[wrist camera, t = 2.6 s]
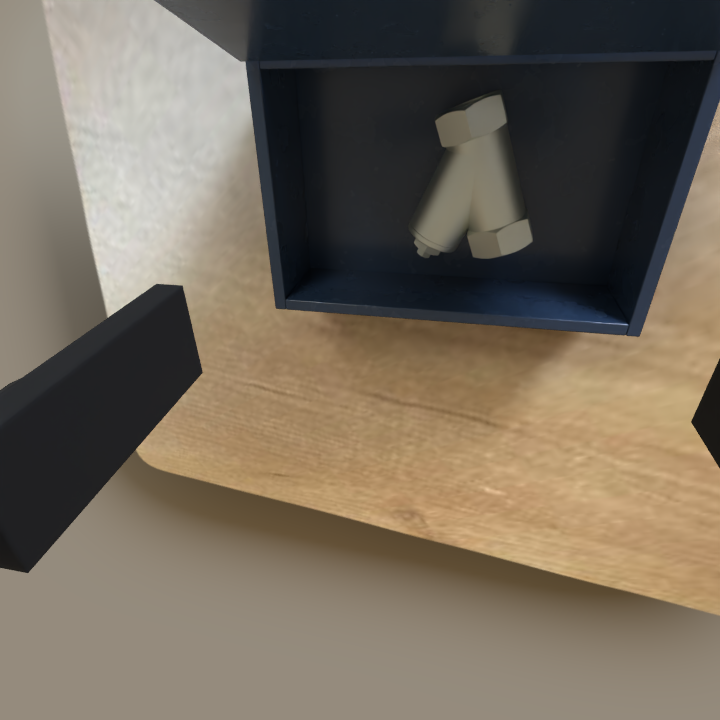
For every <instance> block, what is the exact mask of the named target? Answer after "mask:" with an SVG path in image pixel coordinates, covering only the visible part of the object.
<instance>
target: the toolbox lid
mask: <svg viewBox="0 0 720 720" xmlns="http://www.w3.org/2000/svg"><path fill="white" fill-rule="evenodd" d="M155 1H156V2H158V3H159V4H160V5H162V6H163V7H165V8H166V9H167V10H169V11H170V12H172V13H173V14H174V15H176V16H177V17H179V18H180V19H181V20H183V21H184V22H186V23H187V24H188V25H190V26H191V27H193V28H194V29H195V30H197V31H198V32H200V33H201V34H203V35H204V36H205V37H207V38H208V39H210V40H211V41H212V42H214V43H215V44H217V45H218V46H219V47H221V48H222V49H224V50H225V51H226V52H228V53H229V54H231V55H232V56H233V57H235V58H236V59H238V60H239V61H284V60H328V59H371V58H415V57H459V56H502V55H546V54H590V53H634V52H677V51H720V0H155Z"/></svg>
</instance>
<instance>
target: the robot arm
mask: <svg viewBox="0 0 720 720" xmlns="http://www.w3.org/2000/svg"><path fill="white" fill-rule="evenodd" d="M202 373H203V372H202V368H201V363H200V359H199V355H198V350H197V346H196V342H195V337H194V333H193V329H192V324H191V320H190V316H189V311H188V307H187V303H186V298H185V294H184V290H183V286H179V285H164V284H156V285H154V286H153V287H151V288H150V289H149V290H147V291H146V292H144V293H143V294H141V295H140V296H139V297H137V298H136V299H134V300H133V301H131V302H130V303H129V304H127V305H126V306H124V307H123V308H121V309H120V310H119V311H117V312H116V313H114V314H113V315H111V316H110V317H109V318H107V319H106V320H104V321H103V322H101V323H100V324H99V325H97V326H96V327H94V328H93V329H91V330H90V331H88V332H87V333H86V334H84V335H83V336H82V337H80V338H79V339H77V340H76V341H74V342H73V343H71V344H70V345H68V346H67V347H66V348H64V349H63V350H62V351H60V352H58V353H57V354H56V355H54V356H53V357H51V358H50V359H48V360H47V361H46V362H44V363H43V364H41V365H40V366H38V367H37V368H36V369H34V370H33V371H31V372H30V373H28V374H27V375H26V376H24V377H23V378H21V379H19V380H17V381H14V382H12V383H10V384H8V385H7V386H5V387H4V388H3V389H1V390H0V568H5V569H10V570H15V571H20V572H25V573H29V571H30V570H31V569H32V568H33V567H34V566H35V565H36V563H37V562H38V561H39V560H40V559H41V558H42V556H43V555H44V554H45V553H46V552H47V551H48V550H49V548H50V547H51V546H52V545H53V544H54V543H55V541H56V540H57V539H58V538H59V537H60V536H61V535H62V533H63V532H64V531H65V530H66V529H67V528H68V527H69V525H70V524H71V523H72V522H73V521H74V520H75V519H76V517H77V516H78V515H79V514H80V513H81V512H82V510H83V509H84V508H85V507H86V506H87V505H88V504H89V502H90V501H91V500H92V499H93V498H94V497H95V495H96V494H97V493H98V492H99V491H100V490H101V489H102V487H103V486H104V485H105V484H106V483H107V482H108V481H109V479H110V478H111V477H112V476H113V475H114V474H115V473H116V471H117V470H118V469H119V468H120V467H121V466H122V465H123V463H124V462H125V461H126V460H127V459H128V458H129V457H130V455H131V454H132V453H133V452H134V451H135V450H136V448H137V447H138V446H139V445H140V444H141V443H142V442H143V440H144V439H145V438H146V437H147V436H148V435H149V434H150V432H151V431H152V430H153V429H154V428H155V427H156V425H157V424H158V423H159V422H160V421H161V420H162V419H163V417H164V416H165V415H166V414H167V413H168V412H169V411H170V409H171V408H172V407H173V406H174V405H175V404H176V403H177V401H178V400H179V399H180V398H181V397H182V396H183V394H184V393H185V392H186V391H187V390H188V389H189V388H190V386H191V385H192V384H193V383H194V382H195V381H196V380H197V378H198V377H199V376H200V375H201V374H202ZM691 422H692V424H693V426H694V427H695V429H696V430H697V432H698V434H699V435H700V437H701V439H702V440H703V442H704V443H705V445H706V447H707V448H708V450H709V452H710V453H711V455H712V456H713V458H714V460H715V461H716V463H717V465H718V466H719V468H720V359H719V361H718V364H717V366H716V368H715V370H714V373H713V375H712V377H711V379H710V381H709V384H708V386H707V388H706V390H705V392H704V395H703V397H702V399H701V401H700V403H699V406H698V408H697V410H696V412H695V415H694V417H693V419H692V421H691Z"/></svg>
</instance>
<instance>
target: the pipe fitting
mask: <svg viewBox="0 0 720 720" xmlns="http://www.w3.org/2000/svg"><path fill="white" fill-rule="evenodd" d="M435 123H436V127H437V131H438V134H439V138H440V141H441V145H442V147H446V150H445V152H444V154H443V156H442V158H441V160H440V162H439V164H438V166H437V168H436V170H435V172H434V174H433V176H432V178H431V180H430V182H429V184H428V186H427V188H426V190H425V192H424V194H423V196H422V198H421V200H420V202H419V204H418V206H417V208H416V210H415V212H414V214H413V216H412V219H411V221H410V223H409V225H408V228H409V231H410V232H411V234H412V235H413V236H414V237H415V238H416V239H415V241H414V244H415V245H416V246H417V247H418V250H417V253H418V254H419V255H420V256H422V257H424V258H429V257H430V255H436V256H438V255H439V253H440V251H441V252H446V253H451V252H454V251H455V250H456V249H457V247H458V245H459V244H460V242H461V240H462V238H463V237H464V235H465V233H466V232H467V230H468V232H467V237H468V241H469V245H470V248H471V252H472V255H473V257H475V258H481V259H490V258H497V257H501V256H505V255H508V254H511V253H514V252H516V251H518V250H520V249H522V248H524V247H526V246H527V245H528V244H530V243H531V242H532V241H533V234H532V228H531V223H530V219H529V214H528V209H526V208H525V203H524V199H523V194H522V190H521V185H520V181H519V176H518V171H517V167H516V162H515V158H514V153H513V148H512V144H511V139H510V135H509V130H508V125H507V123H508V117H507V112H506V107H505V103H504V98H503V94H502V90H496V91H493V92H490V93H487V94H485V95H482V96H479V97H477V98H474V99H472V100H469V101H467V102H464V103H462V104H460V105H457V106H455V107H453V108H451V109H448V110H446V111H444V112H442V113H440V114H438V115H437V116H436V118H435Z"/></svg>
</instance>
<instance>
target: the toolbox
mask: <svg viewBox="0 0 720 720" xmlns="http://www.w3.org/2000/svg"><path fill="white" fill-rule="evenodd" d="M245 62H246V70H247V78H248V86H249V94H250V102H251V110H252V118H253V127H254V135H255V143H256V151H257V159H258V167H259V175H260V184H261V192H262V200H263V208H264V216H265V224H266V232H267V240H268V249H269V257H270V265H271V273H272V281H273V289H274V297H275V306H276V309H286V308H287V309H288V310H301V311H314V312H327V313H340V314H353V315H366V316H379V317H392V318H405V319H418V320H431V321H444V322H457V323H470V324H483V325H496V326H509V327H522V328H535V329H548V330H561V331H574V332H587V333H600V334H613V335H627V336H637V337H639V336H640V334H641V331H642V328H643V325H644V322H645V319H646V316H647V313H648V310H649V307H650V304H651V301H652V299H653V296H654V293H655V290H656V287H657V284H658V281H659V278H660V275H661V272H662V269H663V266H664V263H665V260H666V257H667V254H668V251H669V248H670V245H671V242H672V239H673V236H674V234H675V231H676V228H677V225H678V222H679V219H680V216H681V213H682V210H683V207H684V204H685V201H686V198H687V195H688V192H689V189H690V186H691V183H692V180H693V177H694V174H695V171H696V168H697V166H698V163H699V160H700V157H701V154H702V151H703V148H704V145H705V142H706V139H707V136H708V133H709V130H710V127H711V124H712V121H713V118H714V115H715V112H716V109H717V106H718V103H719V101H720V51H677V52H634V53H590V54H546V55H502V56H459V57H415V58H371V59H328V60H284V61H245ZM496 90H502V94H503V98H504V103H505V107H506V112H507V117H508V123H507V125H508V130H509V135H510V139H511V144H512V148H513V153H514V158H515V162H516V167H517V171H518V176H519V181H520V185H521V190H522V194H523V199H524V203H525V208H526V209H528V214H529V219H530V223H531V228H532V234H533V241H532V242H531V243H530V244H528V245H527V246H526V247H524V248H522V249H520V250H518V251H516V252H514V253H511V254H508V255H505V256H501V257H497V258H490V259H481V258H475V257H473V255H472V252H471V248H470V245H469V241H468V237H467V232H468V230H467V232H466V233H465V235H464V237H463V238H462V240H461V242H460V244H459V245H458V247H457V249H456V250H455V251H454V252H451V253H446V252H441V251H440V253H439V255H438V256H436V255H430V257H429V258H424V257H422V256H420V255H419V254H418V253H417V250H418V247H417V246H416V245H415V244H414V241H415V239H416V238H415V237H414V236H413V235H412V234H411V232H410V231H409V228H408V225H409V223H410V221H411V219H412V216H413V214H414V212H415V210H416V208H417V206H418V204H419V202H420V200H421V198H422V196H423V194H424V192H425V190H426V188H427V186H428V184H429V182H430V180H431V178H432V176H433V174H434V172H435V170H436V168H437V166H438V164H439V162H440V160H441V158H442V156H443V154H444V152H445V150H446V147H442V145H441V141H440V138H439V134H438V131H437V127H436V123H435V118H436V116H437V115H438V114H440V113H442V112H444V111H446V110H448V109H451V108H453V107H455V106H457V105H460V104H462V103H464V102H467V101H469V100H472V99H474V98H477V97H479V96H482V95H485V94H487V93H490V92H493V91H496Z"/></svg>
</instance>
